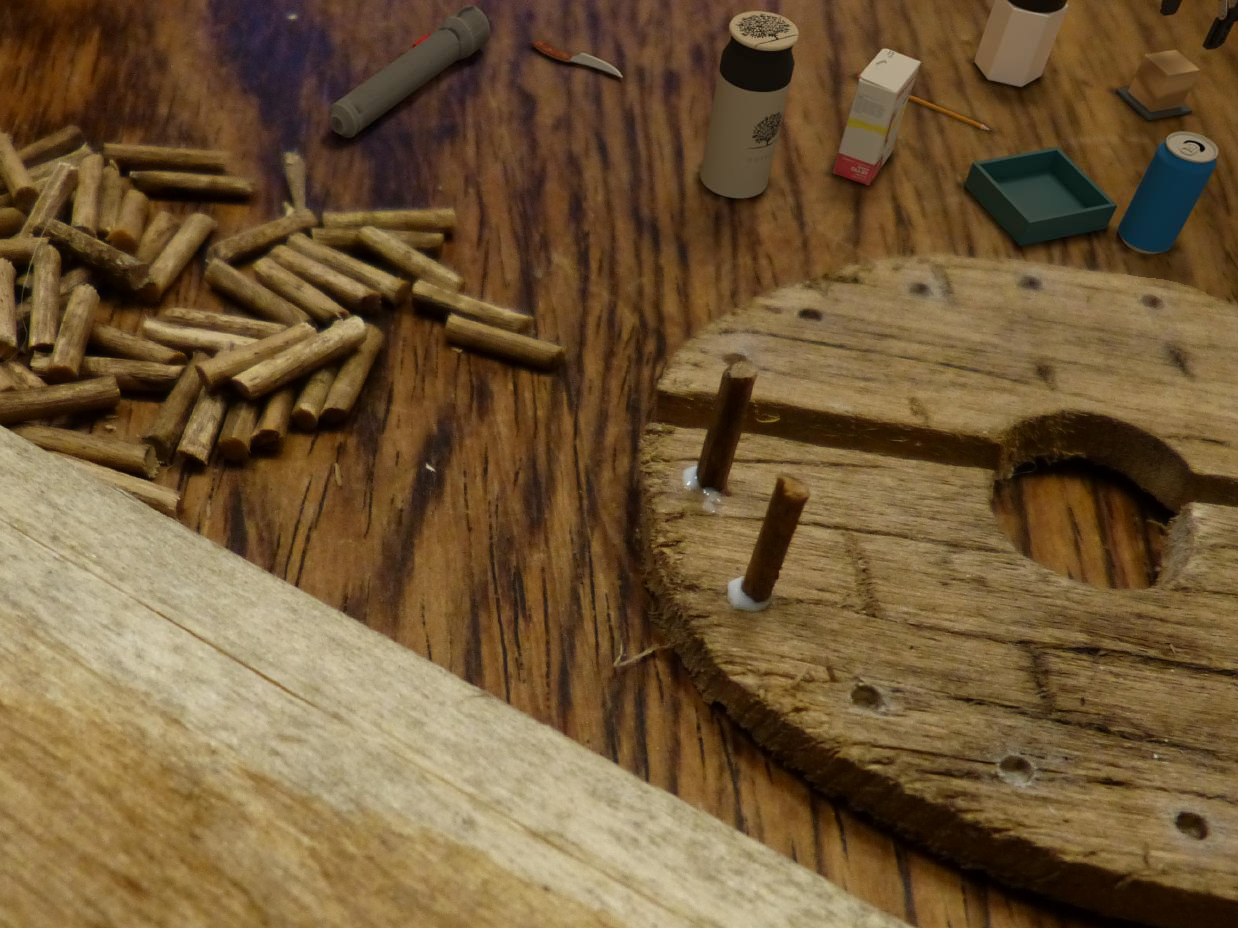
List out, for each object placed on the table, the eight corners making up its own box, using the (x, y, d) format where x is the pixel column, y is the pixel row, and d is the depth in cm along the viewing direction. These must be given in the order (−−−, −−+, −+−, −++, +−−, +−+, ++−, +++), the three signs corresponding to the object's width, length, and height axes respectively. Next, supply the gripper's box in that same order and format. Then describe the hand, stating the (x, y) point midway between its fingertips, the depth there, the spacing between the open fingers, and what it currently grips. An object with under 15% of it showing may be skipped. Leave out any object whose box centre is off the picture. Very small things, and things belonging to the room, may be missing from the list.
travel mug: (688, 167, 151) (714, 14, 136) (748, 156, 153) (780, 5, 138) (717, 205, 147) (747, 52, 132) (778, 194, 149) (814, 42, 134)
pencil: (856, 80, 165) (857, 74, 164) (858, 78, 165) (860, 72, 165) (989, 135, 160) (992, 129, 159) (992, 132, 160) (994, 126, 159)
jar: (1001, 45, 172) (1034, -47, 162) (1051, 72, 169) (1088, -21, 159) (961, 66, 168) (993, -28, 158) (1012, 94, 165) (1048, 0, 155)
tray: (1106, 228, 149) (1117, 205, 146) (1019, 246, 146) (1029, 222, 143) (1048, 170, 155) (1058, 146, 153) (963, 185, 152) (972, 162, 150)
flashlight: (346, 154, 150) (315, 123, 149) (482, 53, 164) (454, 24, 163) (359, 126, 146) (327, 93, 145) (497, 25, 159) (468, -5, 159)
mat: (1190, 113, 165) (1192, 110, 165) (1147, 120, 163) (1148, 117, 163) (1158, 84, 169) (1159, 81, 168) (1115, 91, 167) (1116, 88, 167)
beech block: (1181, 107, 165) (1200, 69, 161) (1150, 112, 164) (1168, 75, 160) (1158, 86, 168) (1175, 49, 163) (1127, 92, 166) (1144, 54, 162)
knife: (631, 66, 161) (622, 76, 160) (631, 70, 162) (621, 81, 160) (538, 36, 164) (528, 46, 162) (538, 40, 165) (527, 50, 163)
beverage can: (1181, 243, 148) (1233, 148, 138) (1153, 265, 145) (1204, 170, 136) (1133, 217, 151) (1181, 122, 141) (1104, 238, 148) (1151, 143, 138)
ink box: (868, 187, 151) (897, 92, 141) (830, 173, 152) (856, 78, 142) (893, 153, 155) (923, 58, 145) (856, 140, 156) (883, 45, 147)
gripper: (1323, -88, 142) (1248, 55, 155) (1241, -142, 150) (1176, -1, 163) (1270, -81, 140) (1200, 63, 153) (1190, -136, 148) (1129, 6, 161)
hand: (1188, 30), depth 158 cm, fingers open, 8 cm apart
